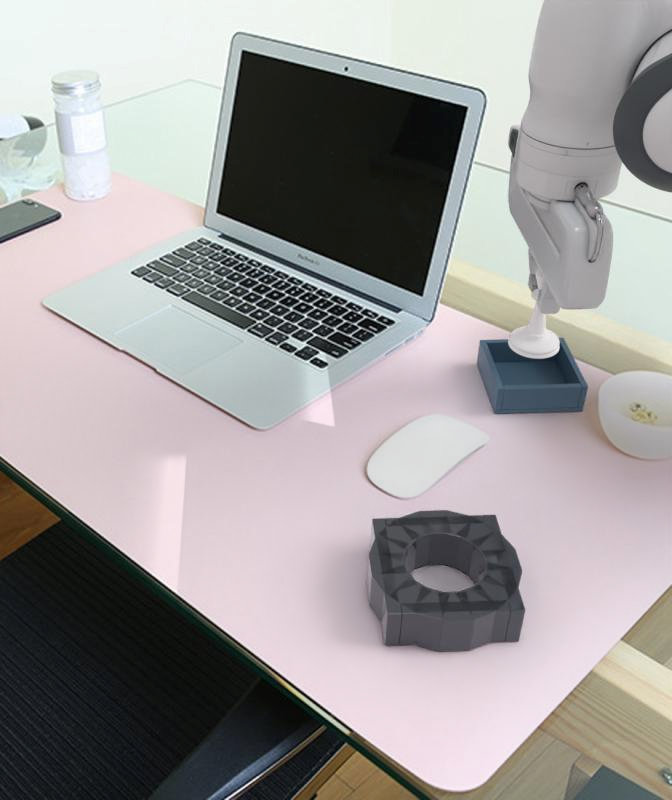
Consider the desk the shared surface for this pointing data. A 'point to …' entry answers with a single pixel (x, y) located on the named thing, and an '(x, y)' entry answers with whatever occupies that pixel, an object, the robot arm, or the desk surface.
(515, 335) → the chess piece
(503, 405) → the basin tray
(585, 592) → the desk surface
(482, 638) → the dark grey ring block
